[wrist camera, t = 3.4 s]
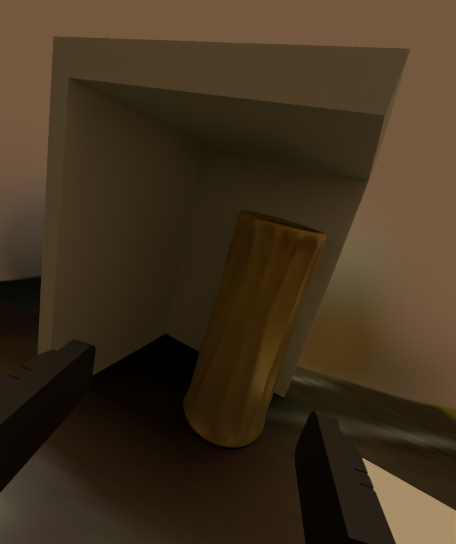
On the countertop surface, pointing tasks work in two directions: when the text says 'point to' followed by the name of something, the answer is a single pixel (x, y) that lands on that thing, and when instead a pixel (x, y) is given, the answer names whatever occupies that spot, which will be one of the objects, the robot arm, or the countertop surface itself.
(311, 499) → the robot arm
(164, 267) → the shelf nook
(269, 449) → the countertop surface
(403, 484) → the tile
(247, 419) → the vase
